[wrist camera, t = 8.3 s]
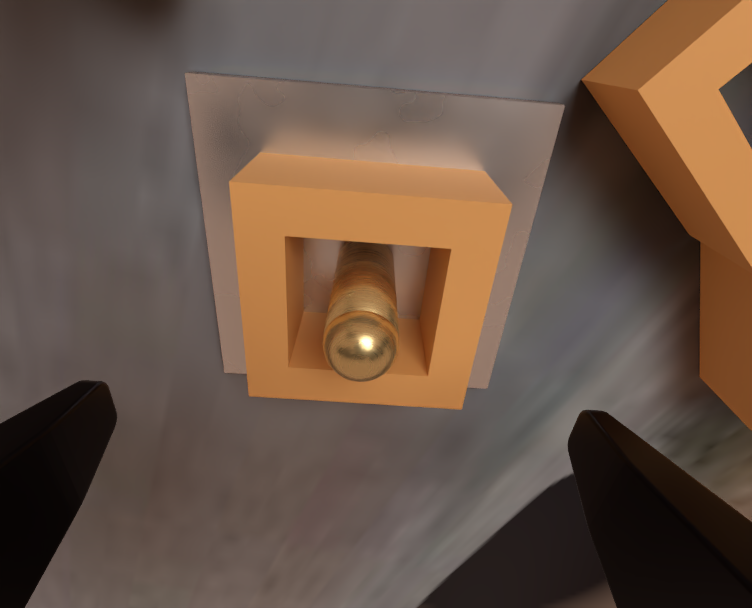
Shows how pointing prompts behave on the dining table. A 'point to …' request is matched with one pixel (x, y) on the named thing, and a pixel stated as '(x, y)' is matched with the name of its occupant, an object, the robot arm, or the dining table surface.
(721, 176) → the chain link
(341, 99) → the plate with brass peg
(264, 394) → the end link
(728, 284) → the chain link
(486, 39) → the dining table surface
